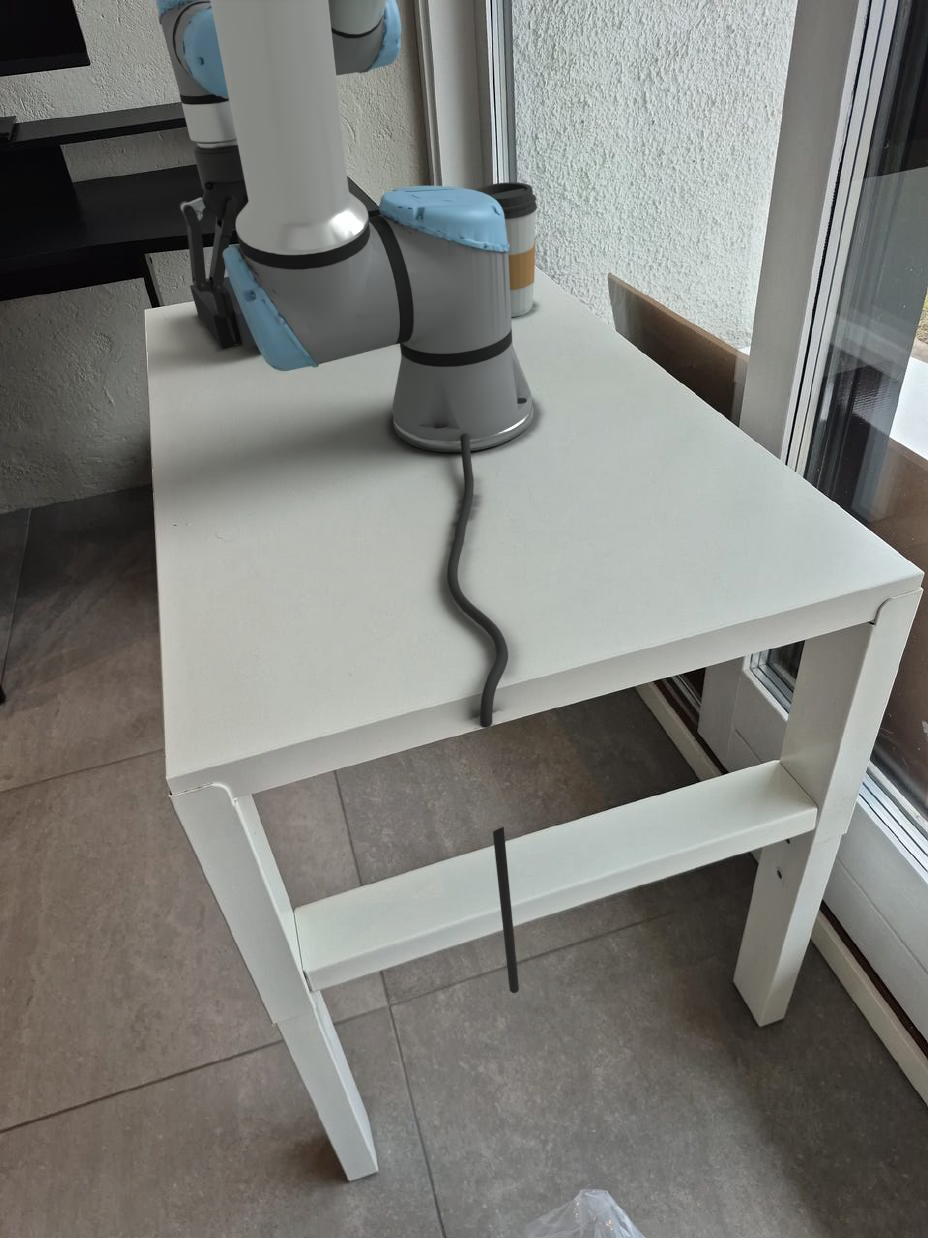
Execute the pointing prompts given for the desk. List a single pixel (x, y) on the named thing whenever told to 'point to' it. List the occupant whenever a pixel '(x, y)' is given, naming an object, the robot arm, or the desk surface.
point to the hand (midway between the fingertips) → (268, 331)
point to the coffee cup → (518, 239)
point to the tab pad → (242, 325)
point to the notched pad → (213, 314)
